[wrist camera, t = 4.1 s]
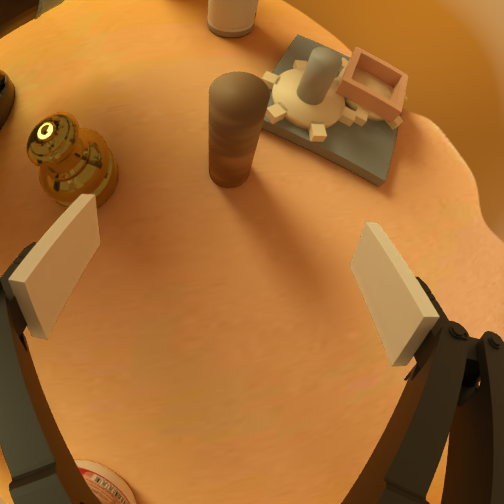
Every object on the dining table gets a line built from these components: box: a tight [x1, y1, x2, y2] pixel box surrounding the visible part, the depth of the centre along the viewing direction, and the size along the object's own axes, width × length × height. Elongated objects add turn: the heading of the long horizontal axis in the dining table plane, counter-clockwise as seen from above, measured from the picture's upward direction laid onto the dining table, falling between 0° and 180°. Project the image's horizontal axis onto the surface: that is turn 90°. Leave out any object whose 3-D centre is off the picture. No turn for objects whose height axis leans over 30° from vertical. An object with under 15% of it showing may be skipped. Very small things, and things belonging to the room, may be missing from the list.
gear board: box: [261, 34, 408, 187], centre depth 30 cm, size 16×16×9 cm
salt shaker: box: [27, 112, 118, 209], centre depth 24 cm, size 7×7×10 cm
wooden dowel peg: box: [209, 72, 270, 188], centre depth 25 cm, size 4×4×12 cm
